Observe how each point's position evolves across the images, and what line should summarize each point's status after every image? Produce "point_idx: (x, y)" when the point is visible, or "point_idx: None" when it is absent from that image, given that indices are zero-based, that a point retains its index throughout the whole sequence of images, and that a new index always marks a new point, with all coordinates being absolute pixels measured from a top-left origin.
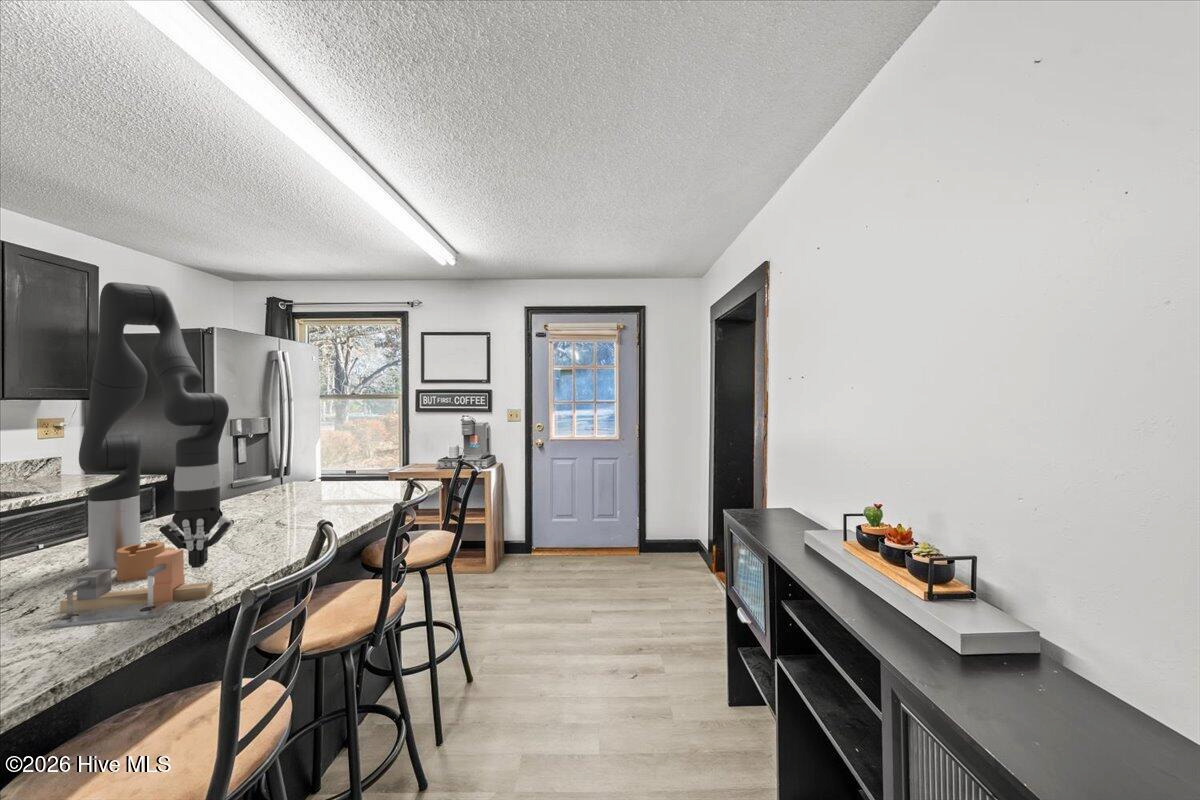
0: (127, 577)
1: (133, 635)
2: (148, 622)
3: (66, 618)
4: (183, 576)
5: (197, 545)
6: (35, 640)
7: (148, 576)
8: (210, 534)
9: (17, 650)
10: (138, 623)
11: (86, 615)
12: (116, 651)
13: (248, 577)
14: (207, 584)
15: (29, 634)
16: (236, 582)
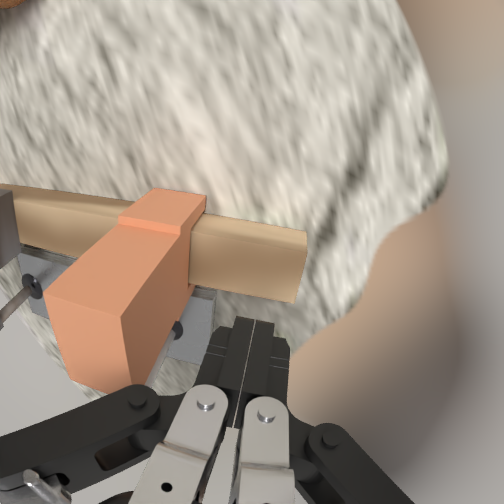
0: (1, 7)
1: None
2: (200, 365)
3: (32, 292)
4: (182, 230)
5: (238, 458)
6: (50, 337)
7: None
8: (293, 473)
9: (58, 360)
10: (180, 360)
11: None
12: None
13: (407, 95)
14: (293, 277)
15: (22, 304)
16: (372, 139)
